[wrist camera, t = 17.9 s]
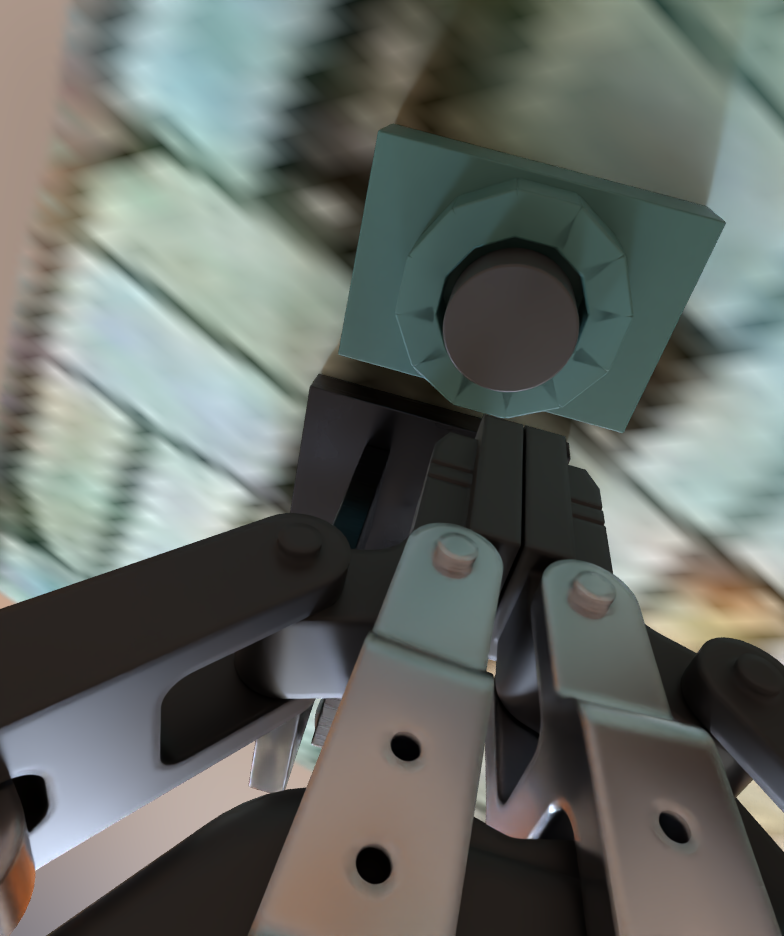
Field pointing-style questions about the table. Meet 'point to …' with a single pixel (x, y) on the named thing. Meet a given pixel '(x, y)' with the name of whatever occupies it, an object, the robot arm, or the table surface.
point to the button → (511, 320)
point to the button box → (531, 227)
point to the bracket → (357, 496)
